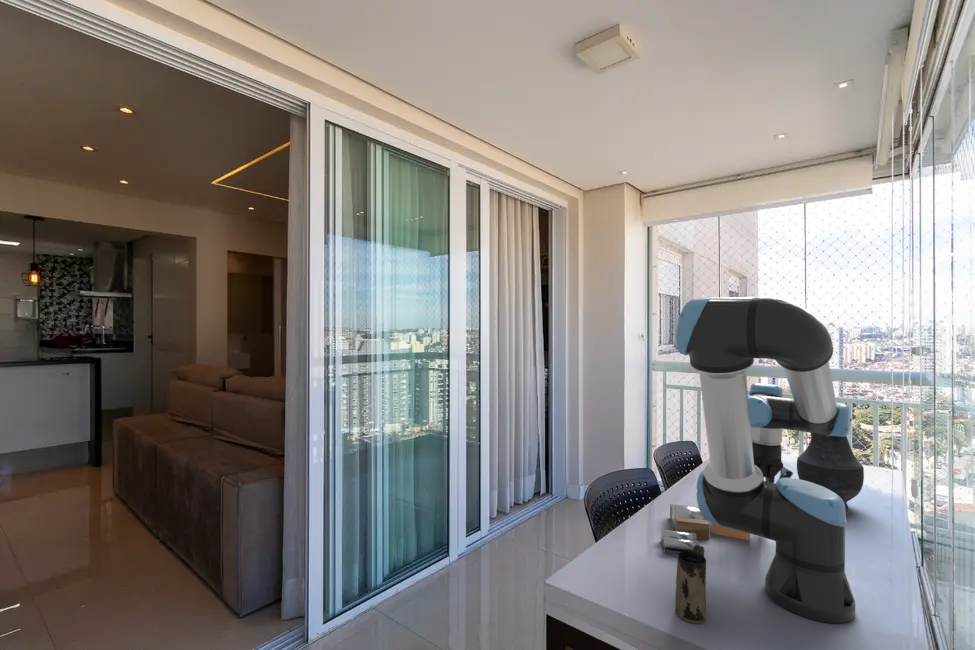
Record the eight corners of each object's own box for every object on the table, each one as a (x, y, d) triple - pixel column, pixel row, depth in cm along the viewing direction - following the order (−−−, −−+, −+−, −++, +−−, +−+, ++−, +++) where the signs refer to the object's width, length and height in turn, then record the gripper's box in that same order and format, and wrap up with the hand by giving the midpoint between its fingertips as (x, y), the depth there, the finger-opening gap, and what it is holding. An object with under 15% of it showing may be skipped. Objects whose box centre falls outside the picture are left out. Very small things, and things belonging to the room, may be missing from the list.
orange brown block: (749, 541, 121) (750, 522, 121) (711, 533, 124) (712, 515, 125) (748, 533, 125) (748, 515, 125) (711, 526, 129) (711, 509, 129)
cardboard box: (709, 539, 121) (709, 524, 121) (676, 535, 122) (677, 520, 123) (699, 521, 132) (699, 507, 132) (669, 517, 134) (670, 504, 134)
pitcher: (809, 511, 141) (811, 414, 141) (783, 489, 161) (785, 403, 161) (875, 518, 137) (877, 418, 137) (840, 494, 157) (841, 406, 157)
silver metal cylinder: (701, 526, 129) (701, 504, 130) (706, 534, 124) (706, 511, 124) (671, 522, 131) (671, 501, 132) (674, 530, 125) (675, 508, 126)
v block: (694, 545, 117) (694, 531, 117) (700, 558, 110) (700, 544, 110) (661, 540, 119) (661, 527, 119) (664, 553, 112) (665, 539, 112)
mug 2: (700, 628, 84) (701, 563, 84) (670, 615, 88) (671, 552, 88) (714, 610, 90) (715, 548, 90) (685, 598, 94) (687, 539, 94)
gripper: (787, 440, 125) (785, 527, 125) (734, 436, 128) (732, 521, 128) (798, 447, 118) (796, 539, 118) (742, 443, 121) (740, 532, 121)
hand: (763, 529), depth 123 cm, fingers closed
